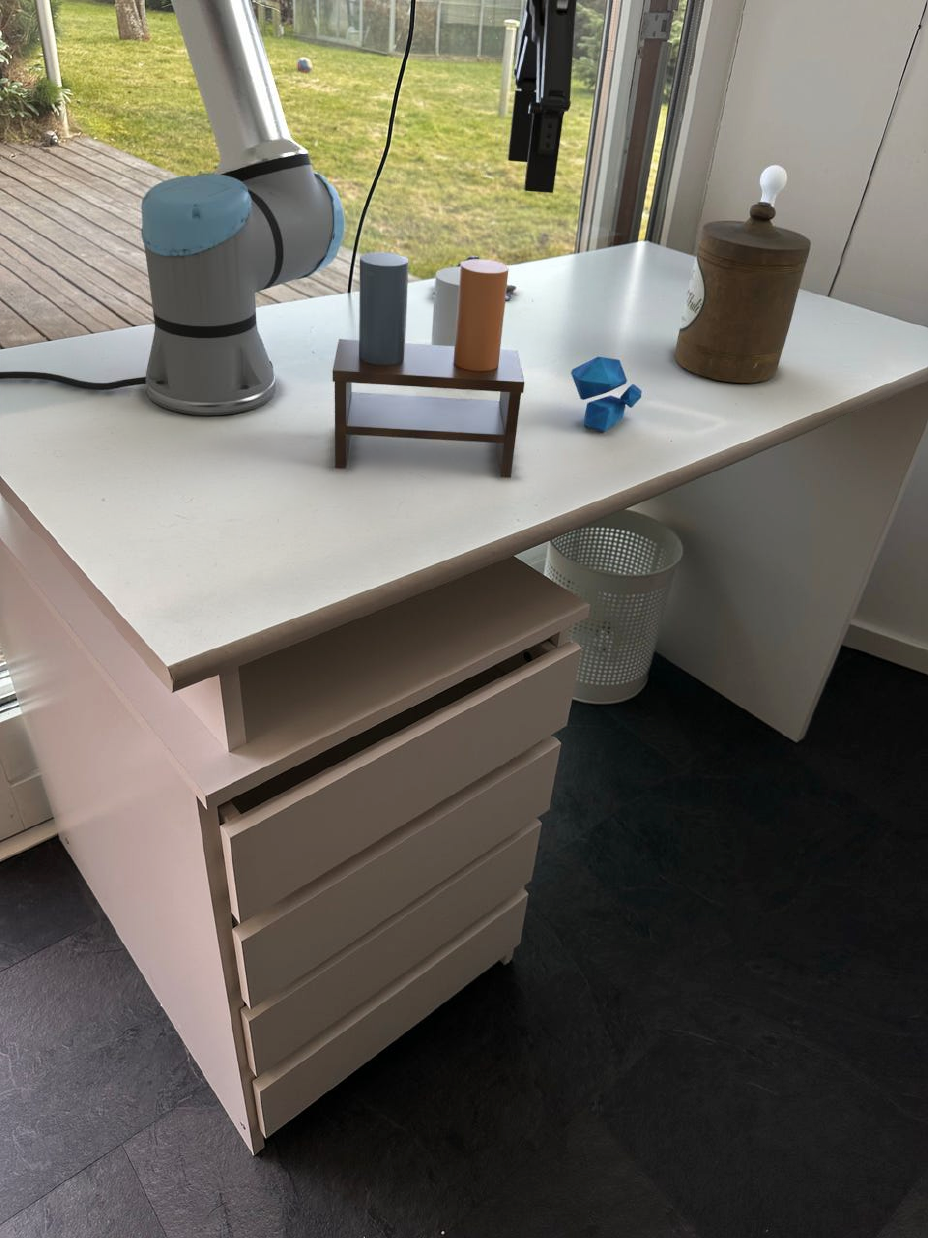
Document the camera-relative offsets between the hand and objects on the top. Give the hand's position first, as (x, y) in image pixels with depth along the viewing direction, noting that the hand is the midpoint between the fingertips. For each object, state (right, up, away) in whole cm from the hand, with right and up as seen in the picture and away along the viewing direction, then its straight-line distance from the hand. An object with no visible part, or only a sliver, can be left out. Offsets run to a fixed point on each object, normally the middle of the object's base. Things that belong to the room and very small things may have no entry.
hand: (528, 175), depth 93 cm
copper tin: (-5, -18, +5) cm, 19 cm away
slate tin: (-15, -17, +4) cm, 23 cm away
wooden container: (+31, -8, +41) cm, 53 cm away
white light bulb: (+44, +16, +74) cm, 88 cm away
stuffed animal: (-5, +8, +58) cm, 59 cm away
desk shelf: (-11, -26, +11) cm, 30 cm away
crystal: (+10, -21, +21) cm, 32 cm away
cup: (-7, -10, +33) cm, 35 cm away
